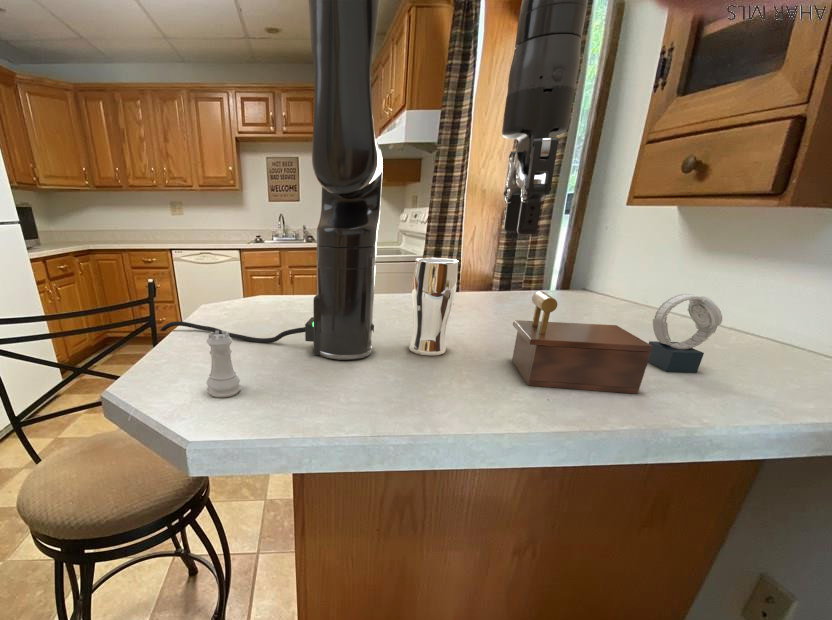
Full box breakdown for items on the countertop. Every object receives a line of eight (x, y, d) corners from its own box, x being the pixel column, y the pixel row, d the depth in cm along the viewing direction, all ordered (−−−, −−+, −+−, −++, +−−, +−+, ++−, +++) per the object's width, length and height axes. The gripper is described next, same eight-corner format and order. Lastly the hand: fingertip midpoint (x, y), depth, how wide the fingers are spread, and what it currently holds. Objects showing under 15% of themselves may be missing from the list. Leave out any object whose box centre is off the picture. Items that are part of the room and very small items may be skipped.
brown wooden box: (528, 385, 58) (536, 345, 56) (511, 360, 68) (518, 325, 66) (637, 394, 56) (651, 352, 54) (604, 366, 66) (615, 330, 63)
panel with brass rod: (529, 344, 56) (538, 301, 54) (512, 324, 66) (519, 287, 64) (651, 352, 54) (665, 306, 51) (615, 330, 63) (626, 291, 61)
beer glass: (403, 353, 71) (410, 261, 65) (410, 342, 77) (418, 257, 71) (445, 358, 69) (457, 263, 63) (450, 346, 75) (461, 259, 69)
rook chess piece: (224, 401, 53) (219, 340, 50) (199, 393, 55) (192, 334, 52) (248, 389, 57) (244, 331, 54) (223, 382, 59) (218, 326, 56)
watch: (710, 373, 63) (739, 299, 59) (654, 371, 64) (678, 298, 60) (683, 360, 68) (708, 292, 64) (631, 359, 69) (652, 291, 65)
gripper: (496, 105, 58) (481, 230, 65) (520, 76, 46) (499, 235, 52) (555, 102, 57) (534, 229, 63) (597, 70, 44) (565, 235, 50)
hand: (518, 232), depth 57 cm, fingers open, 8 cm apart
